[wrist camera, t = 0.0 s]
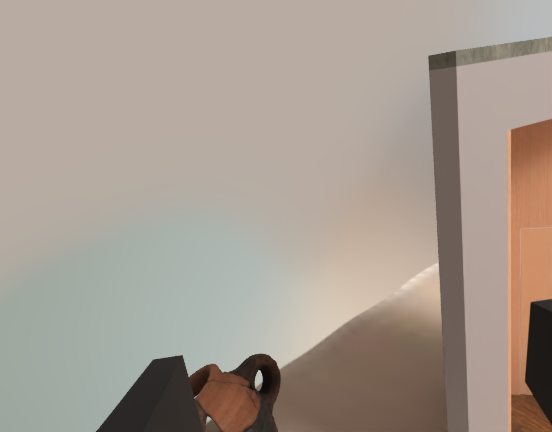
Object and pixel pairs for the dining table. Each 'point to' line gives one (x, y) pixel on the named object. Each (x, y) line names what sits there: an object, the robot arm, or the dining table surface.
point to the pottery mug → (238, 395)
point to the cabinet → (492, 225)
